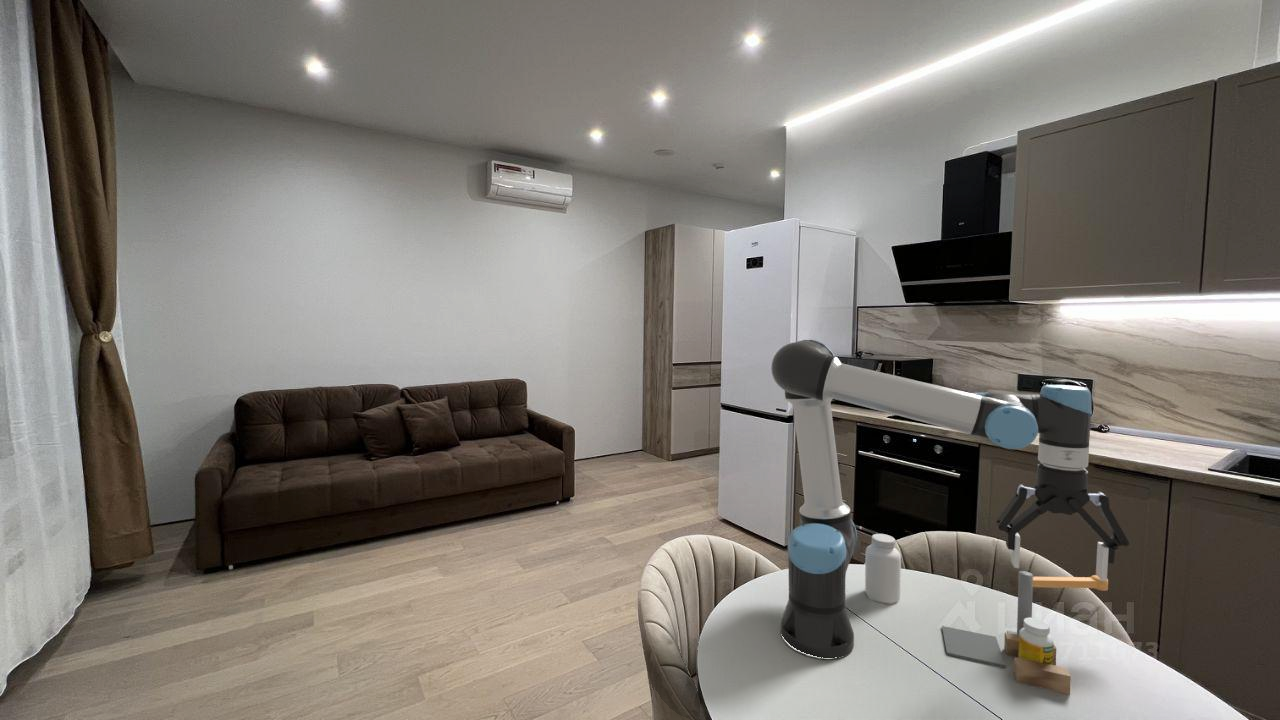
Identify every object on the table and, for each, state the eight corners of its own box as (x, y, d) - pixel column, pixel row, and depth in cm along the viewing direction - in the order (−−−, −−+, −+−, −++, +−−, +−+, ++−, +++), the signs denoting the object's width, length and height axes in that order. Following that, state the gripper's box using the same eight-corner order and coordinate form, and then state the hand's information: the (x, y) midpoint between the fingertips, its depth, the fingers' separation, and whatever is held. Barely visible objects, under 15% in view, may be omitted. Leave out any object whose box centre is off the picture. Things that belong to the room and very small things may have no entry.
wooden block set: (1016, 682, 97) (1017, 664, 97) (998, 632, 112) (998, 616, 112) (1070, 694, 93) (1070, 676, 93) (1043, 641, 109) (1044, 625, 108)
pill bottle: (901, 592, 129) (902, 535, 128) (898, 608, 122) (899, 547, 121) (867, 584, 133) (868, 528, 132) (862, 599, 127) (863, 540, 125)
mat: (946, 654, 105) (946, 652, 105) (941, 627, 114) (941, 625, 114) (1005, 667, 101) (1005, 665, 101) (995, 638, 110) (995, 636, 110)
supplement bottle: (1024, 657, 104) (1026, 612, 103) (1057, 672, 99) (1058, 624, 99) (1013, 667, 101) (1014, 621, 100) (1046, 683, 96) (1047, 634, 96)
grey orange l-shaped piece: (1108, 644, 105) (1111, 578, 104) (1021, 642, 107) (1024, 576, 106) (1098, 636, 108) (1101, 571, 107) (1013, 634, 109) (1015, 570, 108)
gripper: (989, 464, 100) (985, 568, 102) (1157, 478, 90) (1150, 593, 92) (981, 454, 107) (978, 552, 109) (1137, 466, 97) (1130, 574, 99)
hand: (1056, 571), depth 100 cm, fingers open, 13 cm apart
